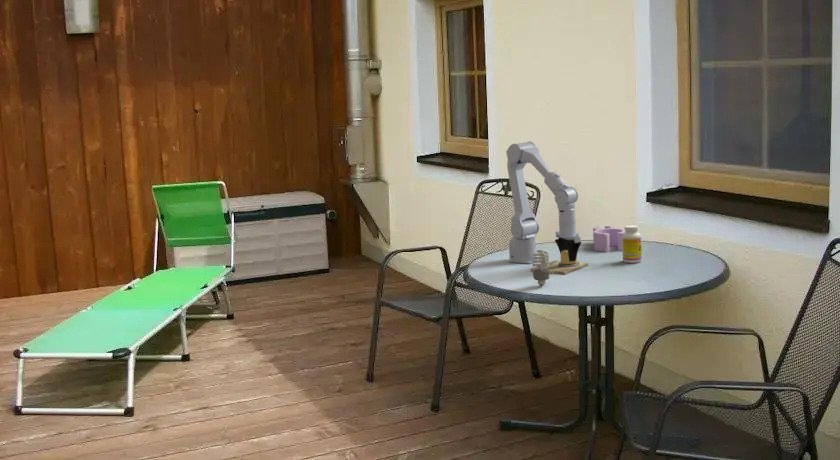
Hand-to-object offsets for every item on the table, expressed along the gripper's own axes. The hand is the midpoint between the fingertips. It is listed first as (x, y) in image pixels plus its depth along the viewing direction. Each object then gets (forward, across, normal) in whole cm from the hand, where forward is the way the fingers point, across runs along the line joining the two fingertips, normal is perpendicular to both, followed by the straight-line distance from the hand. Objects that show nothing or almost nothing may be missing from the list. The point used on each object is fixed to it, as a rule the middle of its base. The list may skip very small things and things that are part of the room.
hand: (568, 259), depth 343 cm
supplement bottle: (+3, -5, -23) cm, 24 cm away
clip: (+3, +24, -31) cm, 39 cm away
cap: (+1, 0, 0) cm, 1 cm away
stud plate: (+3, 0, +4) cm, 5 cm away
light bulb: (+3, -21, +22) cm, 30 cm away
